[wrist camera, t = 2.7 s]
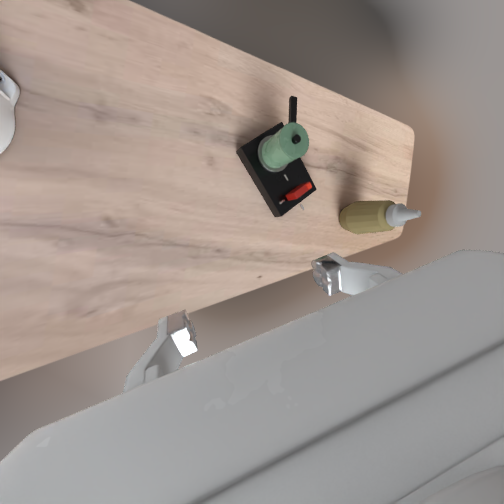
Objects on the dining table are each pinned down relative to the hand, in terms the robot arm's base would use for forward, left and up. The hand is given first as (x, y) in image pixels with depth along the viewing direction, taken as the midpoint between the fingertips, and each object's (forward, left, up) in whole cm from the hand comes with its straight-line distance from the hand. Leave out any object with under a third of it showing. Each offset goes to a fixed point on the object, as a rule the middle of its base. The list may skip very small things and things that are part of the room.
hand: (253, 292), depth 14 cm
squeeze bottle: (+17, +37, -35) cm, 54 cm away
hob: (-3, +25, -35) cm, 43 cm away
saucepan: (-8, +26, -31) cm, 42 cm away
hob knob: (+3, +25, -32) cm, 41 cm away
